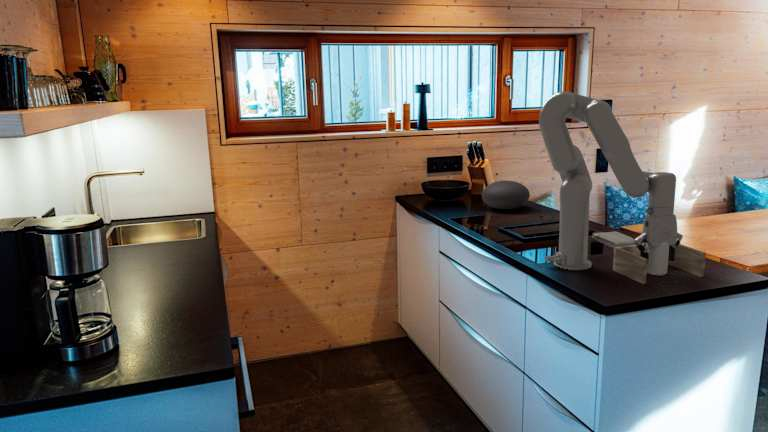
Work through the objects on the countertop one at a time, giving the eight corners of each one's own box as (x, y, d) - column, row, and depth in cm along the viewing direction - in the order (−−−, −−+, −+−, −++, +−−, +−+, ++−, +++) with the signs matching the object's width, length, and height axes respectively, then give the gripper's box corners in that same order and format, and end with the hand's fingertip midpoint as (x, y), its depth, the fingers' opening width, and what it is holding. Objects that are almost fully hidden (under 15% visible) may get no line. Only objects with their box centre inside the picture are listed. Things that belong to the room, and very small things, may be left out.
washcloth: (615, 236, 232) (615, 229, 231) (643, 247, 215) (643, 239, 214) (589, 238, 230) (589, 231, 229) (615, 250, 213) (616, 242, 212)
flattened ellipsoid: (473, 211, 289) (473, 183, 286) (493, 202, 309) (493, 176, 306) (518, 215, 275) (519, 185, 272) (536, 206, 295) (537, 178, 292)
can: (669, 276, 180) (672, 240, 177) (648, 275, 181) (650, 240, 178) (663, 270, 186) (666, 235, 183) (643, 269, 187) (645, 235, 185)
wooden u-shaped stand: (642, 284, 173) (644, 259, 172) (612, 269, 188) (613, 247, 186) (703, 276, 178) (705, 252, 176) (670, 263, 193) (671, 241, 191)
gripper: (644, 215, 174) (641, 267, 177) (692, 211, 177) (688, 262, 181) (629, 210, 181) (626, 261, 184) (675, 206, 184) (671, 256, 188)
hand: (657, 261), depth 183 cm, fingers open, 9 cm apart
